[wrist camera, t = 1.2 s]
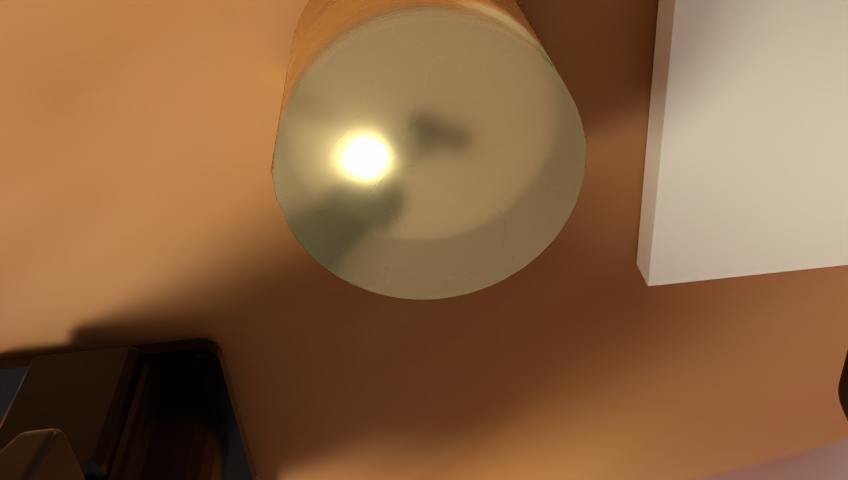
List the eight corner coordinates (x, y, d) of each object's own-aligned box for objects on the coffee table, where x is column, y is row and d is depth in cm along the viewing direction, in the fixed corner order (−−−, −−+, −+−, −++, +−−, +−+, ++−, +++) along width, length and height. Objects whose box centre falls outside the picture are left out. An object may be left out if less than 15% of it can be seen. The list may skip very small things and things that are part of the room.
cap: (533, 163, 20) (583, 283, 16) (308, 186, 20) (297, 314, 15) (533, -68, 17) (595, 3, 13) (268, -43, 17) (242, 39, 13)
